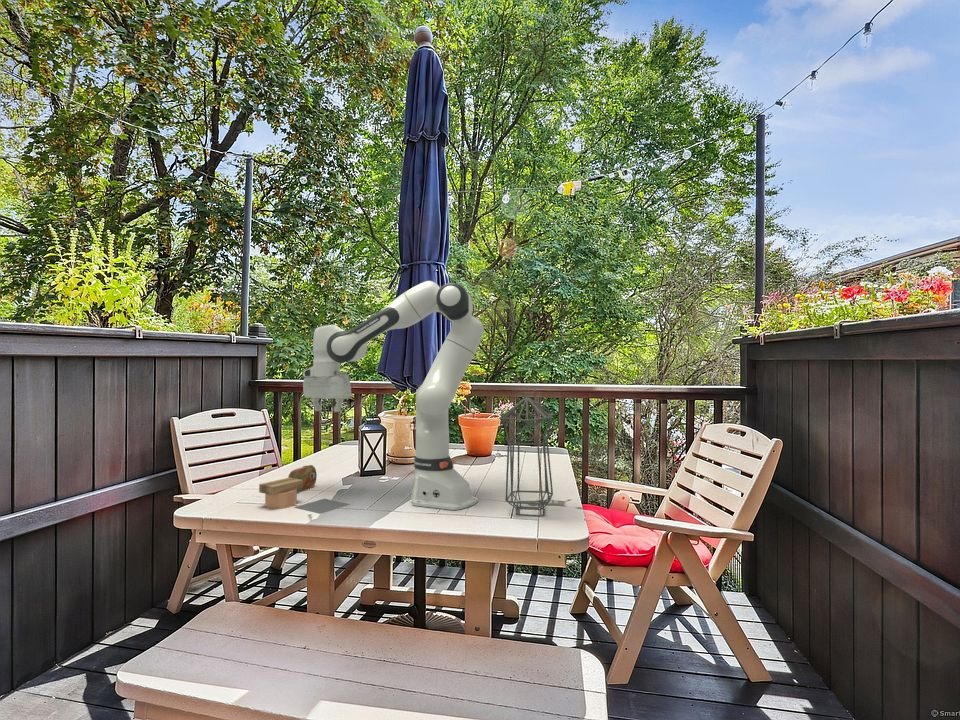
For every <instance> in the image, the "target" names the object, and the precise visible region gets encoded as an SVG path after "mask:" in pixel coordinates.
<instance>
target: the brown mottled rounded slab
mask: <svg viewBox="0 0 960 720" xmlns="http://www.w3.org/2000/svg"><path fill="white" fill-rule="evenodd" d="M317 476H318V475H317V470H316V468H315V466H314V465H312V464H308V465H302V466H301V467H298V468H295V469H293V470H291V471H290V473H289V474H288V477H287V478H289V477H290V478H295V479H300V480H303V488H300V489H297V495H298V494H300V493H301V492H305V491H308V489H309V490H311V489H310V488H312V489H313V488H314V487H315V485H316V481H317Z"/></svg>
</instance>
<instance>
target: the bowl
mask: <svg viewBox="0 0 960 720" xmlns="http://www.w3.org/2000/svg"><path fill="white" fill-rule="evenodd" d="M297 500H298V494H297V489H296V490H292V491H288V492H284V493H280V494H276V495H269V494H264V504H265V508H267V509H275V510H277V509H279V510H280V509H287V508H290V507H295V506H296V504H297Z"/></svg>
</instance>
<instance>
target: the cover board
mask: <svg viewBox="0 0 960 720" xmlns="http://www.w3.org/2000/svg"><path fill="white" fill-rule="evenodd" d="M258 486H259V487H258V488H259V489H258V492H259V493H260V494H264V495H265V494H269V495H276V494H280V493H284V492H288V491H292V490H296V489H300V488H303V480H300V479H295V478H290V477H289V478H288V477H286V478H282V479H277V480H273V481H268V482H262V483H259V484H258Z"/></svg>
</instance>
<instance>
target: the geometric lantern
mask: <svg viewBox="0 0 960 720" xmlns="http://www.w3.org/2000/svg"><path fill="white" fill-rule="evenodd" d="M522 404H523V405H522ZM525 405H526V406H525ZM520 406H522V407H521V408H520V411H519V413H518V412H515V411H516V410H517V409H518V408H519V407H520ZM530 406H531V408H532V410H533V412H534V413H535V414H534V413H531V414H530ZM525 407H526V408H525ZM524 408H525V410H526V412H525V413H523V412H524V411H523V410H524ZM554 414H555V413H554V412H553V411H551V410H549V408H546V407H545V406H543V405H542V404H540V403H538V402H537V401H536V400H533V399H532V398H531V397H523V398H522V399H521V400H519V401H518V402H517V403H516V404H514V406H512V407H510V409H509V410H508V411H506V412H504V413H503V414H502V415H501V416H500V417H499V420H500V422H501V423H502V425H503V426H504V429H505V436H506V441H507V452H506V453H507V454H506V473H505V474H506V479H505V503H508V504H509V505H511V506H512V507H513V508H514V509H515V515H517V516H527V517H544V516H545V511H546V507H547V505H549V503H551V500H552V498H553V495H554V490H553V481H552V470H551V469H552V468H551V461H550V451H549V441H548V440H549V436H550V431H551V428H552V426H553V417H554ZM539 415H541V417H539ZM510 416H513V418H512V417H510ZM521 416H525V417H526V418H525V419H523V418H522V417H521ZM514 417H515V418H514ZM530 417H536V418H530ZM545 420H547V429H546V432H545V434H543V432H542V430H541V428H540V427H539V426H538V425H539V424H540V423H542V422H544V421H545ZM510 421H516V425H515V424H513V423H511V422H510ZM533 421H535V422H533ZM519 422H524V425H523V427H522V428H520V426H519ZM529 425H530V426H529ZM511 426H512V427H513V428H514V429H516V431H517V432H516V433H515V434H514V433H513V430H512V428H511ZM533 427H537V430H539V432H540V434H541V435H542V437H536V436H535V434H534V433H533V431H532V428H533ZM507 428H509V430H510V432H511V434H512V438H511V439H510V438H509V433H508V430H507ZM526 430H527V431H529V432H530V434H531V435H532V437H521V436H522V435H523V433H524V431H526ZM519 432H520V433H519ZM518 433H519V435H518ZM517 435H518V437H516V436H517ZM516 440H517V442H515V441H516ZM520 440H534V441H536V443H534V442H533V443H521V442H520ZM539 440H543V441H542V443H541V442H539ZM515 445H517V490H513V489H514V488H513V487H514V468H515V467H514V462H515V461H514V460H515ZM520 445H524V446H527V445H529V446H530V445H532V446H536V447H537V462H538V476H539V478H538V479H539V490H520ZM540 446H542V451H543V461H544V465H543V466H544V490H543V486H542V485H543V483H542V470H541V456H540V454H541V453H540ZM546 455H547V457H546ZM547 465H548V468H547ZM509 469H510V471H509ZM509 472H510V474H509ZM548 474H549V477H548ZM509 475H510V492H509V491H508V487H509ZM548 478H549V480H548ZM549 483H550V485H549ZM549 486H550V488H549ZM549 489H550V490H549ZM508 492H509V494H508ZM516 493H517V497H518V498H517V497H516V495H515V494H516ZM520 493H533V494H534V493H535V494H536V493H540V500H521V497H520ZM546 494H547V497H546ZM545 497H546V499H545V500H544V498H545ZM509 499H510V500H509ZM514 499H515V500H514ZM522 505H538V506H522ZM539 508H540V509H539ZM520 510H533V511H539V514H525V513H524V514H523V513H521V512H520Z"/></svg>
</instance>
